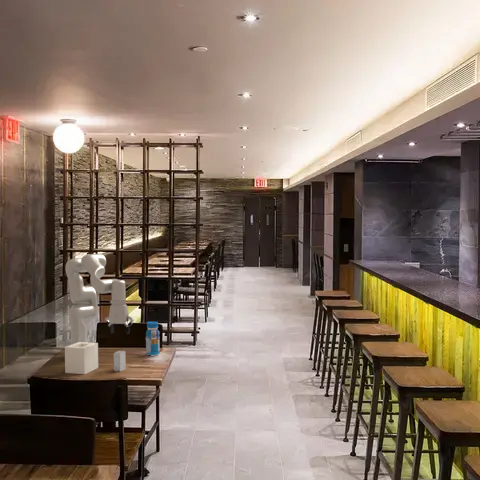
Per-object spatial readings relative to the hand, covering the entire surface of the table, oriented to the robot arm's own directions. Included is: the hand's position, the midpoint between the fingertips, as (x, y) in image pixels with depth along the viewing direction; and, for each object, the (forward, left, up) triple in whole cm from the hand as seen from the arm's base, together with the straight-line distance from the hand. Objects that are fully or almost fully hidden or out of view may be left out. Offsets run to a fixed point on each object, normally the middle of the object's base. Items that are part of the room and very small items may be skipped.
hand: (119, 333), depth 322 cm
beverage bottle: (+2, +38, -21) cm, 43 cm away
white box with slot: (-20, -6, -20) cm, 29 cm away
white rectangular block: (0, 0, -20) cm, 20 cm away
